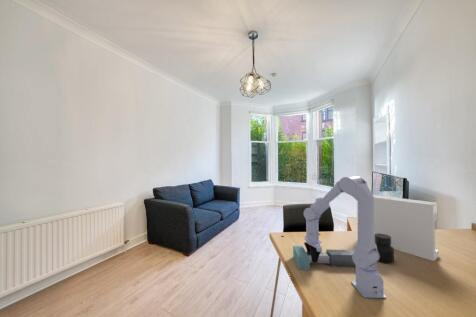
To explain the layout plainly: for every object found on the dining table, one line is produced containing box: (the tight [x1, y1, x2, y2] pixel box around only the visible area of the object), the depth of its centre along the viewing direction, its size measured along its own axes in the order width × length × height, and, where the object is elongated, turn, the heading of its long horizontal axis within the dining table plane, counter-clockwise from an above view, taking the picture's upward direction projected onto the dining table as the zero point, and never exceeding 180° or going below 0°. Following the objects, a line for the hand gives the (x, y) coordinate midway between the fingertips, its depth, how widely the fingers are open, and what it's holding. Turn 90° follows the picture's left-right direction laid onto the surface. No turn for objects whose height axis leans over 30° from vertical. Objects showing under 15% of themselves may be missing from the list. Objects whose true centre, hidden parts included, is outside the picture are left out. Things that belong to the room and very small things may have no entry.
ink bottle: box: [375, 234, 395, 264], centre depth 100 cm, size 10×9×12 cm
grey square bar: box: [306, 251, 330, 264], centre depth 97 cm, size 4×18×4 cm, turn 87°
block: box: [372, 194, 440, 262], centre depth 116 cm, size 35×8×28 cm, turn 33°
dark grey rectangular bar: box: [326, 249, 355, 268], centre depth 97 cm, size 6×14×6 cm, turn 87°
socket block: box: [292, 245, 311, 271], centre depth 98 cm, size 12×5×6 cm, turn 177°
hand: (312, 260), depth 97 cm, fingers closed on grey square bar, 4 cm apart
